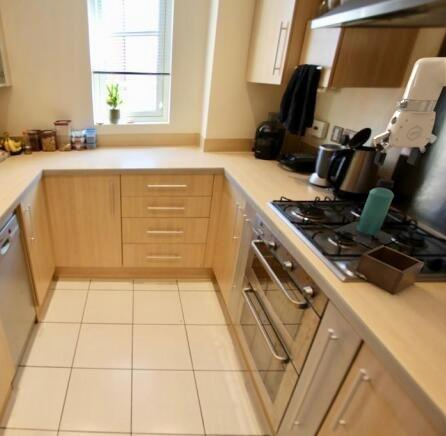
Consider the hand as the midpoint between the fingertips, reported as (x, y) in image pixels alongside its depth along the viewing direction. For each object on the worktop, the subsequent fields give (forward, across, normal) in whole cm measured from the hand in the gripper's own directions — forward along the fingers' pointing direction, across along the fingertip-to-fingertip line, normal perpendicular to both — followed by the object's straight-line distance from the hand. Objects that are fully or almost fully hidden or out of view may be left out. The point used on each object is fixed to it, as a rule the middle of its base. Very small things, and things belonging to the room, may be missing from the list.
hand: (394, 164), depth 97 cm
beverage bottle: (+25, 0, 0) cm, 25 cm away
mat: (+26, -1, 0) cm, 26 cm away
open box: (+26, -10, -24) cm, 36 cm away
